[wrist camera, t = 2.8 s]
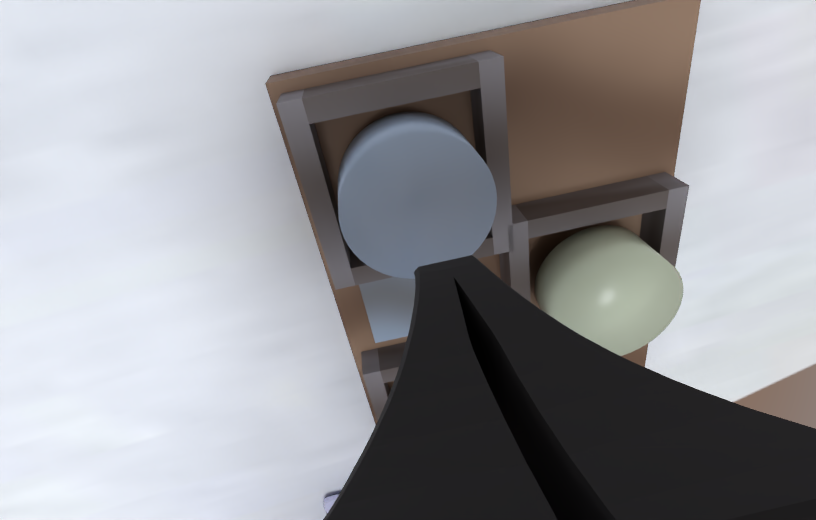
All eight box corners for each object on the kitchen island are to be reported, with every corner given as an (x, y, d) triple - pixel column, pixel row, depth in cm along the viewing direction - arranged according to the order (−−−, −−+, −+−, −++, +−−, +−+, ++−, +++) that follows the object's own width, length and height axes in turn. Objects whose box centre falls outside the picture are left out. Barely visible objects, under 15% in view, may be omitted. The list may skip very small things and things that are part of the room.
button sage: (640, 309, 21) (673, 344, 19) (535, 332, 21) (557, 370, 19) (653, 213, 18) (693, 242, 16) (533, 239, 18) (557, 272, 16)
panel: (626, 373, 27) (656, 412, 25) (381, 428, 27) (386, 474, 24) (673, -8, 17) (734, -6, 14) (270, 75, 16) (259, 93, 14)
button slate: (482, 229, 18) (501, 261, 16) (356, 256, 18) (358, 292, 16) (470, 97, 15) (491, 115, 13) (321, 128, 15) (318, 152, 13)
